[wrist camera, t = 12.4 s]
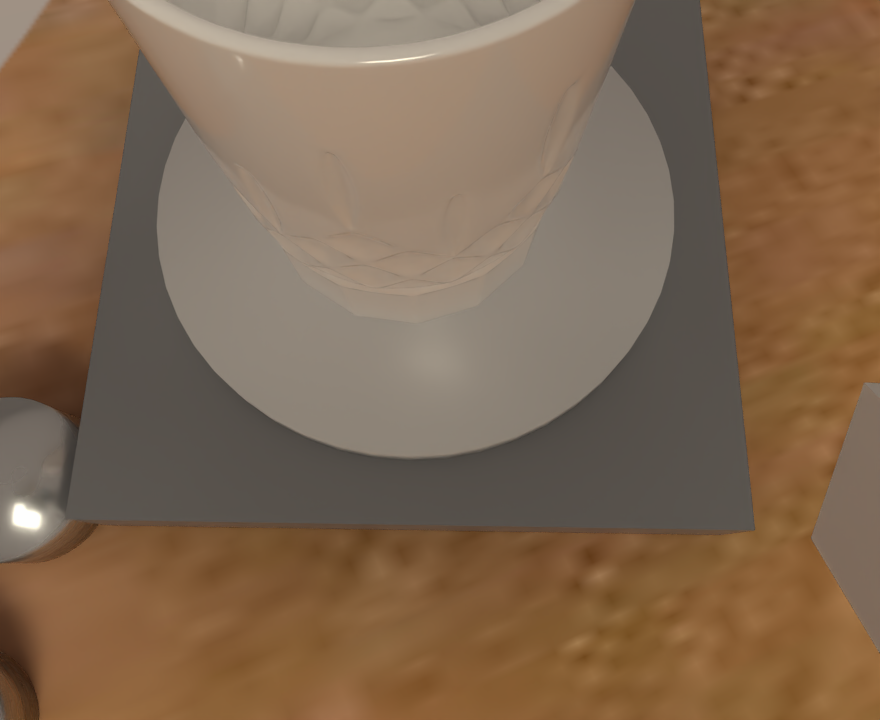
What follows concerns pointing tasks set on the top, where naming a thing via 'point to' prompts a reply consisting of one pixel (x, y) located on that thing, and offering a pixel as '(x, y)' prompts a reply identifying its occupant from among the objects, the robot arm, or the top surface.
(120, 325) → the scale
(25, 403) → the cylinder
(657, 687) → the top surface
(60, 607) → the top surface
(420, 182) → the white cup
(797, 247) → the top surface
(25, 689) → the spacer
